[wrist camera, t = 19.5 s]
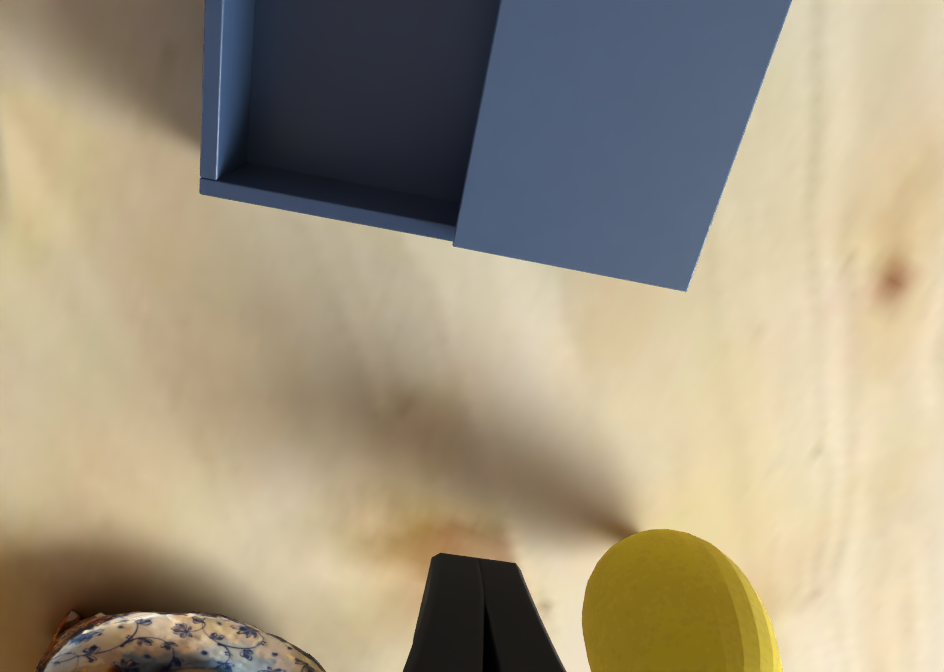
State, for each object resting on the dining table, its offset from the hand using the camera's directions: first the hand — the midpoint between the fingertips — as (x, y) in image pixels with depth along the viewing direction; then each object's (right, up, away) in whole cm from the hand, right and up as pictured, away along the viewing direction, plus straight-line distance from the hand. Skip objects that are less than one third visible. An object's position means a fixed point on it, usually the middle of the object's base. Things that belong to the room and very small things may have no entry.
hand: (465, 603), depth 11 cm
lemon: (+6, -3, +13) cm, 15 cm away
